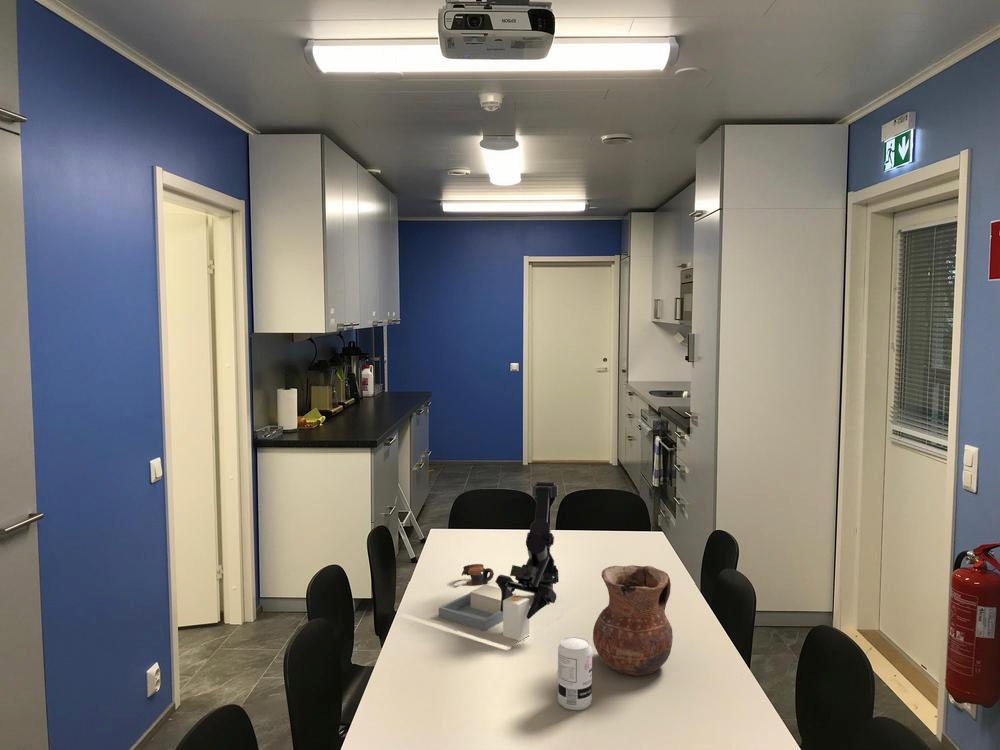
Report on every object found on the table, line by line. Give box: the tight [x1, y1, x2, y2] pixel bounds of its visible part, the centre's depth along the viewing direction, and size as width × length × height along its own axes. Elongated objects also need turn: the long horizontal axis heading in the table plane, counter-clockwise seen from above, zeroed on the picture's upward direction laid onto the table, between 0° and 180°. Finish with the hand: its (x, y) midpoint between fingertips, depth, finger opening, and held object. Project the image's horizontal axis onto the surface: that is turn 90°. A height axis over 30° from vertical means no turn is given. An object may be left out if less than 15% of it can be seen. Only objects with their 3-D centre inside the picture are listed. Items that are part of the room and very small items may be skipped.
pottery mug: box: [461, 563, 495, 587], centre depth 263 cm, size 12×10×8 cm
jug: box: [592, 565, 674, 677], centre depth 201 cm, size 22×21×25 cm
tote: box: [438, 592, 503, 632], centre depth 235 cm, size 22×18×4 cm
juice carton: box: [502, 594, 530, 644], centre depth 218 cm, size 6×6×12 cm
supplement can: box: [557, 636, 593, 711], centre depth 180 cm, size 8×8×15 cm
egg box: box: [469, 584, 517, 614], centre depth 239 cm, size 8×12×5 cm
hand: (514, 614), depth 217 cm, fingers open, 9 cm apart
